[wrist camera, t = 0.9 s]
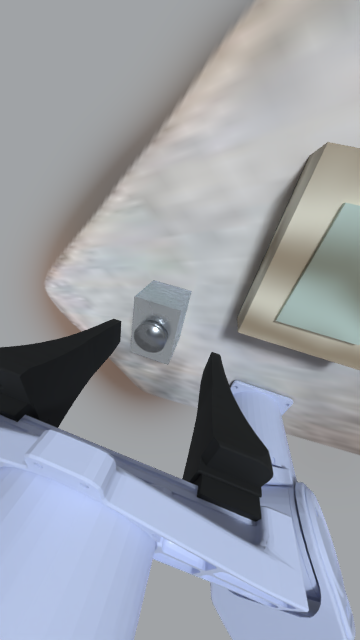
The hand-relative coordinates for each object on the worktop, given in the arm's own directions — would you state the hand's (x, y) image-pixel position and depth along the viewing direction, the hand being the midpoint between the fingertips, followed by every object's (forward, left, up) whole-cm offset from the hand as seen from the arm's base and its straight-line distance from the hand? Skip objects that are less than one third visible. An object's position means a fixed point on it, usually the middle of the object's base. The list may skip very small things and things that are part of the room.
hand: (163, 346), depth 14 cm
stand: (+7, -12, -9) cm, 16 cm away
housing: (-2, +2, -9) cm, 9 cm away
